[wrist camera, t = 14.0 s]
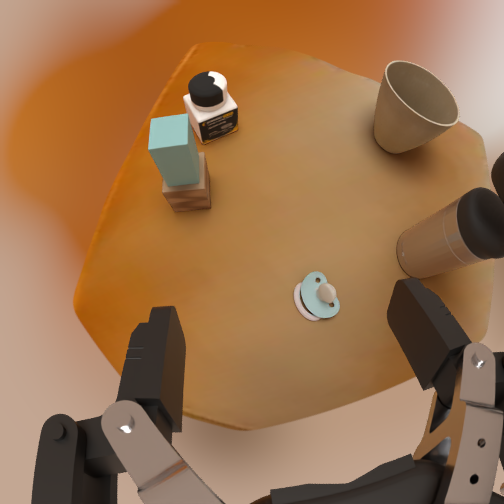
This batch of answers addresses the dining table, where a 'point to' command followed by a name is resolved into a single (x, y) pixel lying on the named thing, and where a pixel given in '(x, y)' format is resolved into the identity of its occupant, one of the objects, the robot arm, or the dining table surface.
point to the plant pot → (412, 107)
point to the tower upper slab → (189, 186)
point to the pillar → (174, 149)
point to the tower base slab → (194, 202)
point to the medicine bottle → (210, 107)
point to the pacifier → (316, 297)
